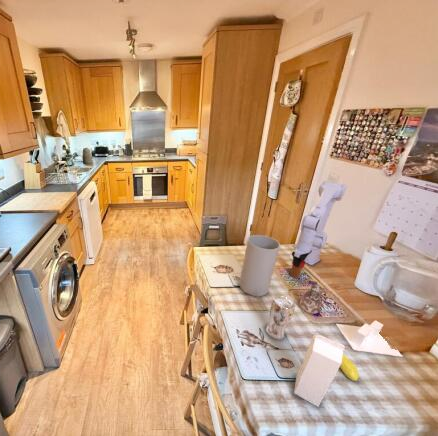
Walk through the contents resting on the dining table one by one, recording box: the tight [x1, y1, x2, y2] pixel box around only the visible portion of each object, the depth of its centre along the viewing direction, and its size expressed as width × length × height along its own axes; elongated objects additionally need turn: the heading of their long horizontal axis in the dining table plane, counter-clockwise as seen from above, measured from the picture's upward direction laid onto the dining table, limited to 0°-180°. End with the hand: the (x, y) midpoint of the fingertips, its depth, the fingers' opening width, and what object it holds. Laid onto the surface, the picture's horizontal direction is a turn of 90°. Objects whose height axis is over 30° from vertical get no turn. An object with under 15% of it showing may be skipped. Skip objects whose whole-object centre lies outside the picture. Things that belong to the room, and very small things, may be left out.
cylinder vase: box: [238, 234, 281, 297], centre depth 103 cm, size 12×12×25 cm
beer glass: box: [265, 295, 296, 340], centre depth 83 cm, size 7×7×15 cm
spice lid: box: [291, 260, 306, 269], centre depth 114 cm, size 5×5×2 cm
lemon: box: [339, 354, 359, 382], centre depth 73 cm, size 4×8×4 cm, turn 169°
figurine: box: [299, 281, 324, 315], centre depth 95 cm, size 7×7×12 cm
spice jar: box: [289, 264, 303, 279], centre depth 115 cm, size 4×4×8 cm
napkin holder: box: [335, 319, 404, 358], centre depth 82 cm, size 15×11×6 cm
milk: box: [293, 333, 346, 408], centre depth 64 cm, size 6×6×22 cm
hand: (298, 263), depth 114 cm, fingers closed on spice lid, 5 cm apart
